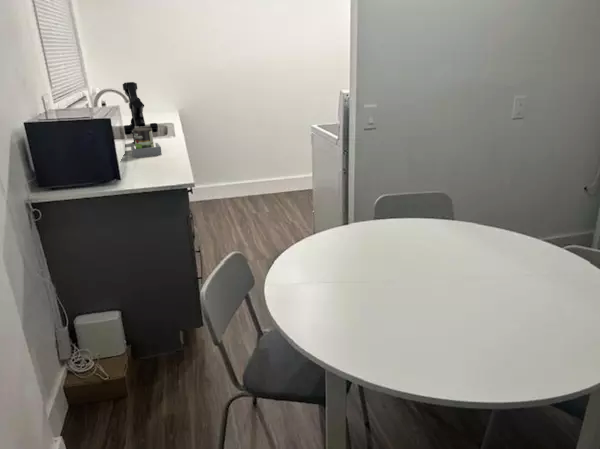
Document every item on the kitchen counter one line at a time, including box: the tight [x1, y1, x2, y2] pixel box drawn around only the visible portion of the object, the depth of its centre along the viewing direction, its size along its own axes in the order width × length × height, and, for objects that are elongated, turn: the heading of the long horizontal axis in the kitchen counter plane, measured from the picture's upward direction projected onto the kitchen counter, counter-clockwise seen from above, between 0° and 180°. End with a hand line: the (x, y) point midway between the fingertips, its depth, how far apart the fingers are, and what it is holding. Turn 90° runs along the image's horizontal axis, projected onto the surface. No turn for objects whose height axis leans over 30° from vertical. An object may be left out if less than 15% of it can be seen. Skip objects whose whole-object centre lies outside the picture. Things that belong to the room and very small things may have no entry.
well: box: [130, 142, 163, 158], centre depth 267 cm, size 13×15×4 cm
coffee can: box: [132, 127, 155, 149], centre depth 266 cm, size 10×10×14 cm
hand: (143, 140), depth 271 cm, fingers closed, pressing on coffee can
